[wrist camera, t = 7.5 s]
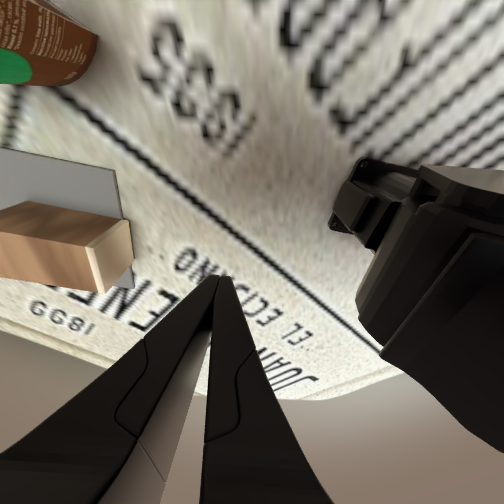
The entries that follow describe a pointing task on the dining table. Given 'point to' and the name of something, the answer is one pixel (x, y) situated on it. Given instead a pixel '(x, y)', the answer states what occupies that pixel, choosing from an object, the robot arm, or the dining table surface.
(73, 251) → the block
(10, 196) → the mat
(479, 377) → the robot arm
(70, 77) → the food container
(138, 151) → the dining table surface
